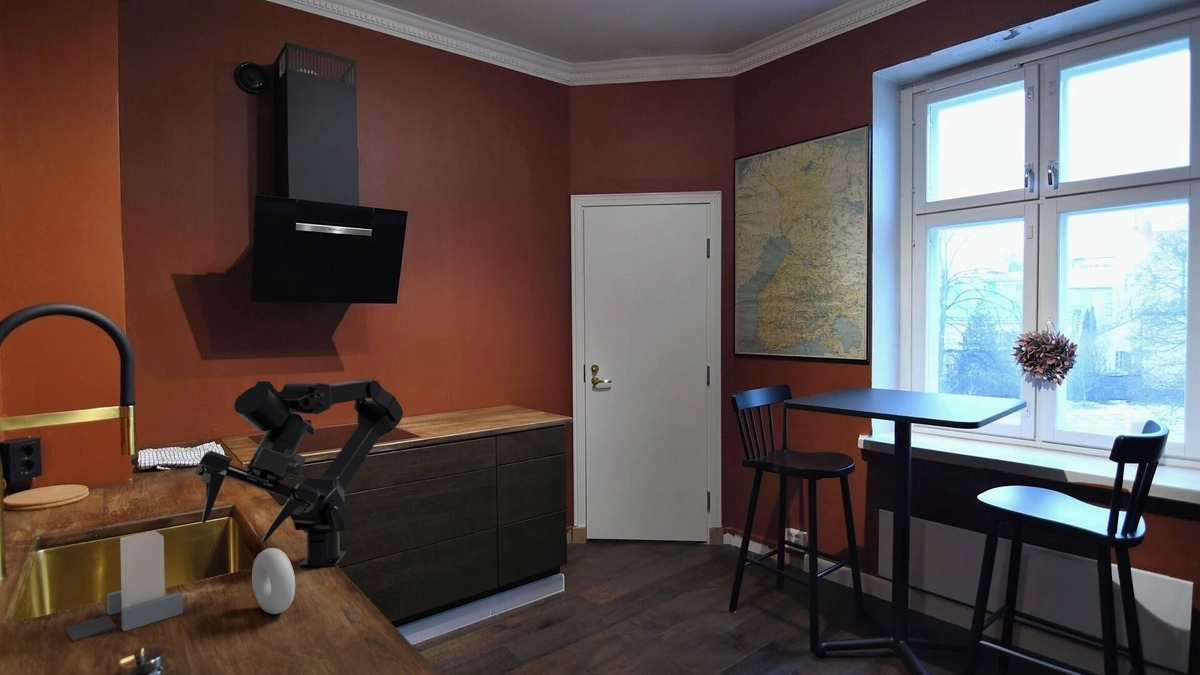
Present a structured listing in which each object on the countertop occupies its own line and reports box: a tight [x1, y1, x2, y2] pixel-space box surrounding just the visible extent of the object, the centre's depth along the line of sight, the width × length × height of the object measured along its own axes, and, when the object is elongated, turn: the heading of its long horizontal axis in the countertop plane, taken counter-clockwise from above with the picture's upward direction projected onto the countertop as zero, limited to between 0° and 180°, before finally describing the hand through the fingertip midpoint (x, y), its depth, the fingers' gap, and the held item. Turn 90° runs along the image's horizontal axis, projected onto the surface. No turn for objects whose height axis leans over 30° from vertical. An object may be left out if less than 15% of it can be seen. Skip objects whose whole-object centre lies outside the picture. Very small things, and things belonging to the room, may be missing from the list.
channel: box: [106, 579, 184, 632], centre depth 97 cm, size 8×9×3 cm
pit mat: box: [64, 615, 118, 642], centre depth 92 cm, size 5×6×1 cm
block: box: [119, 530, 165, 608], centre depth 97 cm, size 4×4×12 cm
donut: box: [251, 547, 296, 615], centre depth 97 cm, size 10×4×10 cm, turn 51°
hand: (233, 532), depth 99 cm, fingers open, 9 cm apart
